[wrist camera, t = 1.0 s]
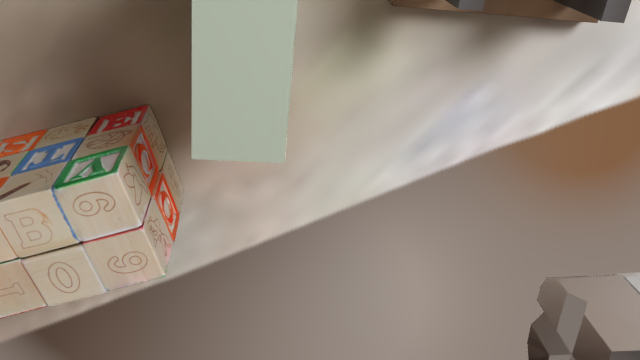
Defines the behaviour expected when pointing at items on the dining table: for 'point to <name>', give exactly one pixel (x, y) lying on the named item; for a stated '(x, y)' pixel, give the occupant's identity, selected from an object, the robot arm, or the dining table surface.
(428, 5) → the book rack
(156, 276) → the stack of blocks
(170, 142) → the dining table surface
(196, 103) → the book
